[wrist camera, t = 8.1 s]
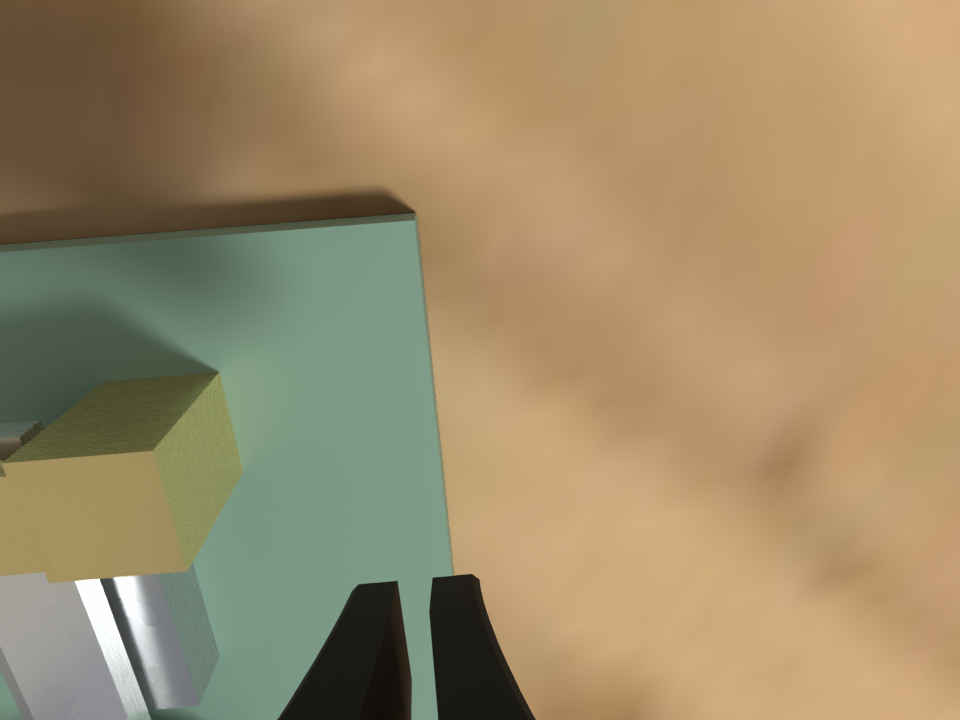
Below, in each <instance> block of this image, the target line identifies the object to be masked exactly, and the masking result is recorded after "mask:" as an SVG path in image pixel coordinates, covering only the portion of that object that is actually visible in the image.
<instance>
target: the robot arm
mask: <svg viewBox="0 0 960 720" xmlns="http://www.w3.org/2000/svg"><path fill="white" fill-rule="evenodd" d="M429 615H430V628H431V640H432V652H433V664H434V675H435V687H436V699H437V711H438V720H535V718H534V716H533V714H532V712H531V710H530V709H529V707H528V705H527V703H526V701H525V699H524V697H523V695H522V693H521V691H520V689H519V687H518V685H517V683H516V681H515V679H514V676H513V674H512V672H511V670H510V668H509V666H508V664H507V662H506V660H505V657H504V655H503V653H502V651H501V648H500V646H499V644H498V641H497V639H496V636H495V633H494V631H493V628H492V625H491V623H490V620H489V617H488V614H487V611H486V608H485V605H484V601H483V597H482V593H481V588H480V580H479V579H478V578H476V577H475V576H474V575H473V574H467V575H456V576H445V577H434V578H432V587H431V597H430V609H429ZM411 714H412V676H411V670H410V663H409V656H408V649H407V642H406V635H405V628H404V621H403V614H402V607H401V600H400V593H399V587H398V581H389V582H378V583H367V584H358V585H357V586H356V587H355V588H354V589H353V590H352V592H351V594H350V596H349V598H348V600H347V602H346V604H345V606H344V608H343V610H342V612H341V614H340V616H339V618H338V620H337V621H336V623H335V625H334V627H333V629H332V631H331V632H330V634H329V636H328V638H327V640H326V641H325V643H324V645H323V647H322V648H321V650H320V652H319V654H318V655H317V657H316V659H315V660H314V662H313V664H312V665H311V667H310V669H309V670H308V672H307V673H306V675H305V677H304V678H303V680H302V682H301V683H300V685H299V686H298V688H297V690H296V691H295V693H294V695H293V696H292V698H291V699H290V701H289V703H288V704H287V706H286V707H285V709H284V710H283V712H282V713H281V715H280V716H279V718H278V719H277V720H411Z"/></svg>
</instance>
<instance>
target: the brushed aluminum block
mask: <svg viewBox="0 0 960 720" xmlns="http://www.w3.org/2000/svg"><path fill="white" fill-rule="evenodd" d="M100 582H101V585H102V587H103V590H104V593H105V596H106V598H107V601H108V604H109V606H110V609H111V612H112V615H113V617H114V620H115V623H116V625H117V628H118V631H119V634H120V636H121V639H122V642H123V644H124V647H125V650H126V653H127V655H128V658H129V661H130V663H131V666H132V669H133V672H134V674H135V677H136V680H137V682H138V685H139V688H140V691H141V693H142V696H143V699H144V701H145V704H146V707H147V710H156V709H167V708H178V707H189V706H199V705H200V703H201V700H202V698H203V695H204V693H205V690H206V688H207V686H208V683H209V681H210V678H211V676H212V674H213V671H214V669H215V666H216V664H217V661H218V659H219V657H220V655H219V651H218V648H217V644H216V641H215V637H214V634H213V631H212V627H211V624H210V620H209V617H208V613H207V610H206V606H205V603H204V599H203V596H202V592H201V589H200V586H199V582H198V579H197V575H196V572H195V568H194V565H193V563H192V565H191V566H190V568H189V570H188V571H185V572H174V573H162V574H150V575H139V576H127V577H116V578H104V579H100ZM0 670H1V673H2V675H3V677H4V679H5V681H6V684H7V686H8V688H9V690H10V692H11V694H12V697H13V699H14V701H15V703H16V705H17V707H18V710H19V712H20V714H21V716H22V718H23V720H34V718H33V716H32V714H31V712H30V710H29V707H28V705H27V703H26V701H25V699H24V697H23V695H22V692H21V690H20V688H19V686H18V684H17V682H16V679H15V677H14V675H13V673H12V671H11V669H10V667H9V664H8V662H7V660H6V658H5V656H4V654H3V652H2V649H1V647H0Z"/></svg>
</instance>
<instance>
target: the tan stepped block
mask: <svg viewBox="0 0 960 720" xmlns="http://www.w3.org/2000/svg"><path fill="white" fill-rule="evenodd" d="M242 473H243V469H242V465H241V460H240V456H239V452H238V448H237V444H236V439H235V435H234V431H233V427H232V422H231V418H230V414H229V410H228V406H227V401H226V397H225V393H224V389H223V385H222V380H221V376H220V372H216V373H204V374H191V375H179V376H167V377H154V378H142V379H130V380H117V381H105V382H102V383H101V384H100V385H98V386H97V387H96V388H95V389H93V390H92V391H91V392H90V393H89V394H87V395H86V396H85V397H84V398H82V399H81V400H80V401H79V402H77V403H76V404H75V405H74V406H72V407H71V408H70V409H69V410H67V411H66V412H65V413H64V414H62V415H61V416H60V417H59V418H57V419H56V420H55V421H54V422H52V423H51V424H50V425H49V426H47V427H46V428H45V429H44V430H42V431H41V432H40V433H39V434H37V435H36V436H35V437H34V438H32V439H31V440H30V441H29V442H28V443H26V444H25V445H24V446H23V447H21V448H20V449H19V450H18V451H16V452H15V453H14V454H13V455H11V456H10V457H9V458H8V459H6V460H5V461H0V576H6V575H18V574H29V573H41V572H45V575H46V577H47V580H48V582H49V583H58V582H70V581H81V580H93V579H104V578H116V577H127V576H139V575H150V574H162V573H174V572H185V571H188V570H189V568H190V566H191V565H192V563H193V561H194V559H195V557H196V556H197V554H198V552H199V550H200V548H201V547H202V545H203V543H204V541H205V539H206V538H207V536H208V534H209V532H210V530H211V529H212V527H213V525H214V523H215V521H216V520H217V518H218V516H219V514H220V513H221V511H222V509H223V507H224V505H225V504H226V502H227V500H228V498H229V496H230V495H231V493H232V491H233V489H234V487H235V486H236V484H237V482H238V480H239V478H240V477H241V475H242Z"/></svg>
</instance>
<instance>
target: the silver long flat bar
mask: <svg viewBox="0 0 960 720" xmlns="http://www.w3.org/2000/svg"><path fill="white" fill-rule="evenodd" d="M42 430H44V427H43V424H42V422H41V420H36V421H24V422H12V423H0V461H5V460H6V459H8V458H9V457H10V456H11V455H13V454H14V453H15V452H16V451H18V450H19V449H20V448H21V447H23V446H24V445H25V444H26V443H28V442H29V441H30V440H31V439H32V438H34V437H35V436H36V435H37V434H39V433H40V432H41V431H42ZM0 647H1V649H2V652H3V654H4V656H5V658H6V660H7V662H8V664H9V667H10V669H11V671H12V673H13V675H14V677H15V679H16V682H17V684H18V686H19V688H20V690H21V692H22V695H23V697H24V699H25V701H26V703H27V705H28V707H29V710H30V712H31V714H32V716H33V718H34V720H151V718H150V715H149V712H148V710H147V707H146V704H145V701H144V699H143V696H142V693H141V691H140V688H139V685H138V682H137V680H136V677H135V674H134V672H133V669H132V666H131V663H130V661H129V658H128V655H127V653H126V650H125V647H124V644H123V642H122V639H121V636H120V634H119V631H118V628H117V625H116V623H115V620H114V617H113V615H112V612H111V609H110V606H109V604H108V601H107V598H106V596H105V593H104V590H103V587H102V585H101V582H100V579H93V580H81V581H70V582H58V583H49V582H48V580H47V577H46V575H45V572H41V573H29V574H18V575H6V576H0Z"/></svg>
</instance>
